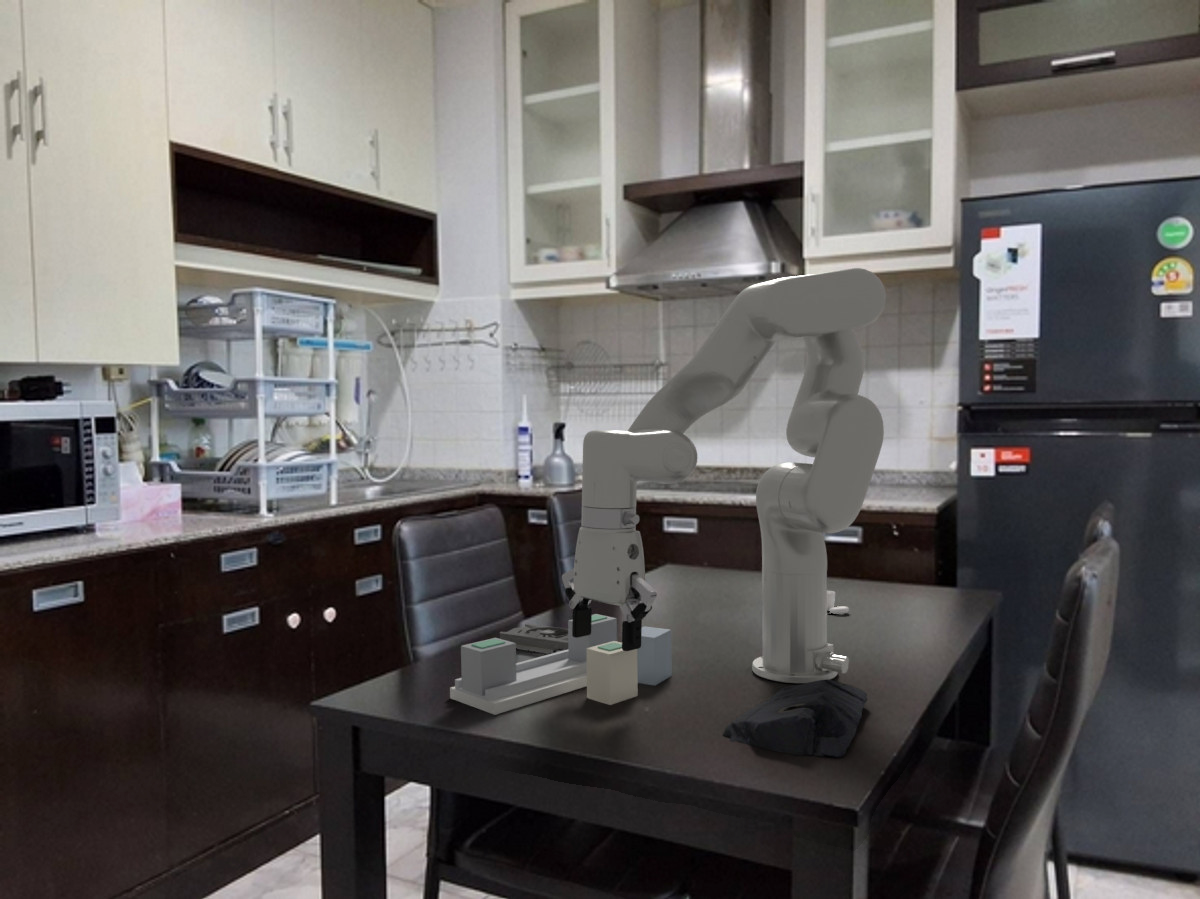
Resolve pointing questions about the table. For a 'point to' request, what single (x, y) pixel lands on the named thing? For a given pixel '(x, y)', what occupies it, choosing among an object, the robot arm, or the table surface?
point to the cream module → (611, 673)
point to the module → (654, 656)
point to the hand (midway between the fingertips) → (605, 642)
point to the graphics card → (538, 638)
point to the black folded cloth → (803, 720)
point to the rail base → (528, 684)
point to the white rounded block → (831, 604)
